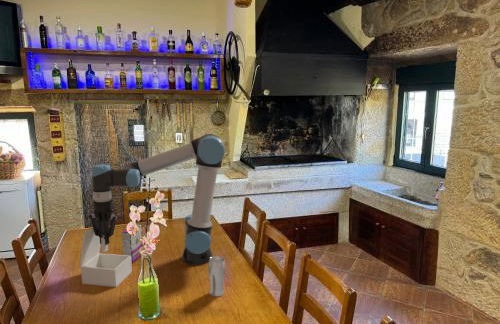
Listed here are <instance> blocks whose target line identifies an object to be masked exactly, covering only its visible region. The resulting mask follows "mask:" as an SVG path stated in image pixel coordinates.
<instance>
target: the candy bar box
mask: <svg viewBox="0 0 500 324" xmlns="http://www.w3.org/2000/svg"><path fill="white" fill-rule="evenodd" d="M137 225H138V227H139V231H138V232H137V233H136V236H133V235H130V234H129V233H128V232H127V230H126V229H124V230H123V231H122V232H121V239H122V242H121V243H122V251H123V254H122V255H127V256H131V263H132V264H134V263H135V262H136V261H137V260H138V259H139V258H140V257H142V256H141V255H140V253H139V249H140V248H141V247H142V246H143V242H142V243H141V242H140V238H142V239H143V233H142V224H137Z"/></svg>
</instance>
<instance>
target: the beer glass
mask: <svg viewBox="0 0 500 324" xmlns="http://www.w3.org/2000/svg"><path fill="white" fill-rule="evenodd" d="M225 260H226V259H225V258H224V257H223V256H220V255H214V256H212V257H211V258H209V262H208V264H207V265H208V268H207V269H208V270H207V271H208V278H209V283H210V290H209V295H210V296H212V297H214V298H217V297H222V296H224V294H225V288H224V281H225V277H226V276H225V274H226V263H225V262H226V261H225Z"/></svg>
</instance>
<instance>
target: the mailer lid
mask: <svg viewBox="0 0 500 324" xmlns="http://www.w3.org/2000/svg"><path fill="white" fill-rule="evenodd" d="M82 235H83V237H82V244H81V245H82V246H81V252H80V253H81V254H80V262H79V267H80V268H81V266H83V265H84V264H86V263H87V262H88V261H90V260H91V259H92V258H94V257H95V256H96V255H98V254H99V253H101V252H100V251H101V247H102V244H100V238H99V236H95V233H94V229H93V227H91V228H90V229H88V230H87V231H85V232H83V234H82Z"/></svg>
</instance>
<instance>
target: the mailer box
mask: <svg viewBox="0 0 500 324" xmlns="http://www.w3.org/2000/svg"><path fill="white" fill-rule="evenodd" d="M80 271H81V273H80V274H81V283H82V285H90V286H100V287H102V286H103V287H108V288H109V287H111V288H117V287H118V286H119V285H120V284H121V283H122V282H123V281H124V280H125V279H127V277H128V276H129V275H130V274H131V273H132V272H133V267H132V263H131V256H127V255H123V254H113V253H104V252H100V253H99V254H98V255H96V256H95V257H93V258H92V259H91V260H89V261H88V262H87V263H85V264H84V265H82V266H81V267H80Z"/></svg>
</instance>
